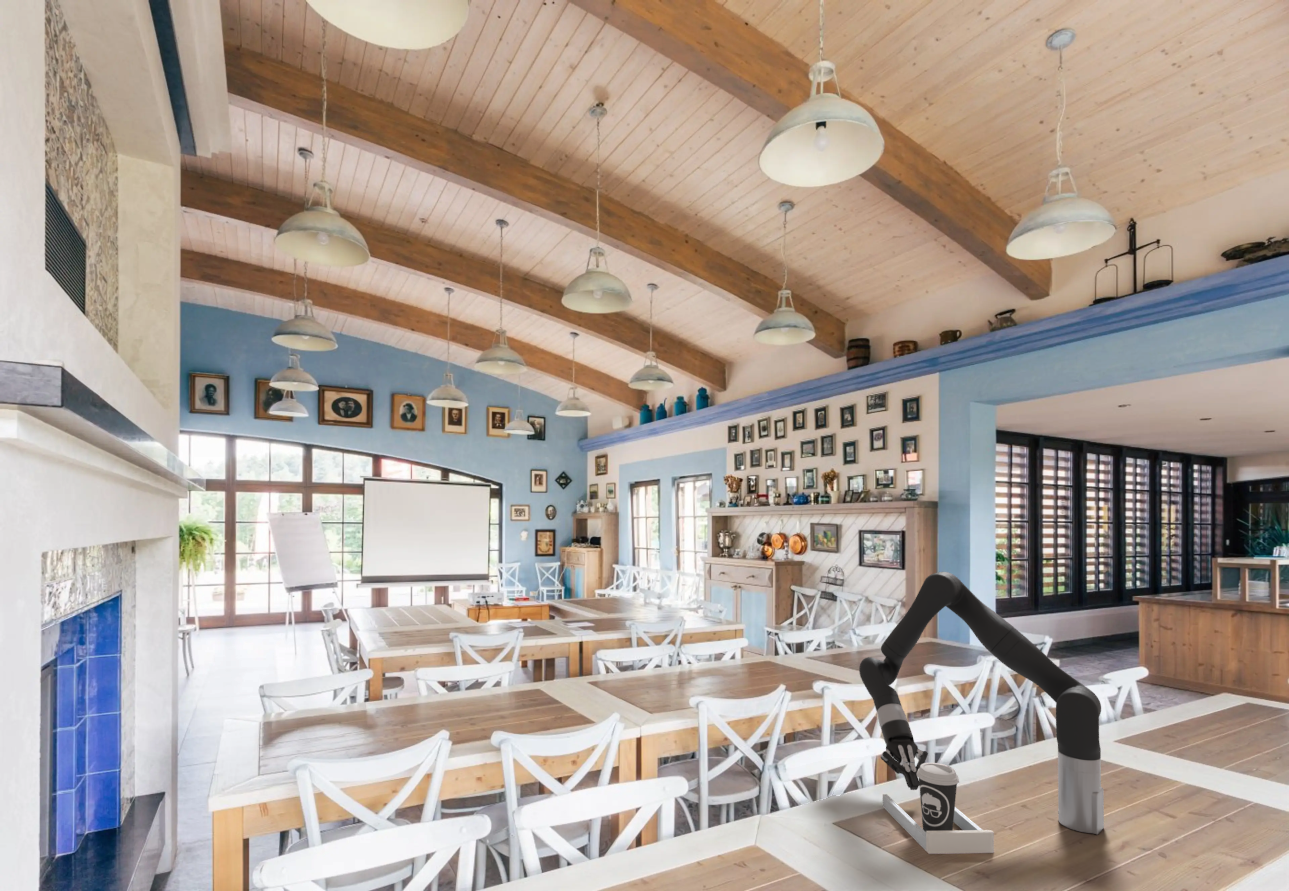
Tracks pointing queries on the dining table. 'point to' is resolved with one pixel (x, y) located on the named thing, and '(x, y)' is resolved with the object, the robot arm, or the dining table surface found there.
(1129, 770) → the dining table surface
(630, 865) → the dining table surface
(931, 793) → the coffee cup
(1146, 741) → the dining table surface
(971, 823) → the white rectangular tray frame
